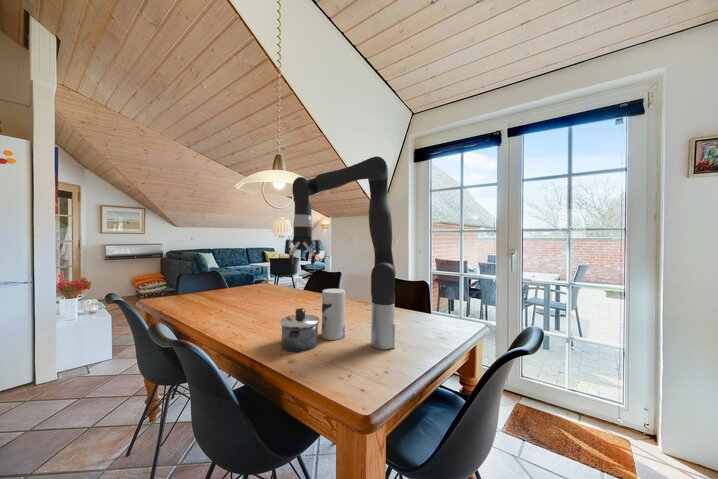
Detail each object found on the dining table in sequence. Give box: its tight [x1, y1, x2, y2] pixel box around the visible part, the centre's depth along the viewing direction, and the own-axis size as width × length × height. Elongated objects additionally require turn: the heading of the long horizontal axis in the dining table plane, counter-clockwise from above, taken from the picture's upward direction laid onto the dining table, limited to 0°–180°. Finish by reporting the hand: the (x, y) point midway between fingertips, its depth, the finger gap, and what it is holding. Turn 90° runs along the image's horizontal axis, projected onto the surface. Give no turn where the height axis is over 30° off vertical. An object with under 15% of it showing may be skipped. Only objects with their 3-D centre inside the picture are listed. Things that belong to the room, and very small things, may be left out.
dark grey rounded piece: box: [281, 323, 319, 353], centre depth 111 cm, size 21×14×9 cm, turn 178°
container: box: [321, 288, 346, 341], centre depth 122 cm, size 10×10×20 cm
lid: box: [280, 307, 320, 328], centre depth 111 cm, size 15×15×5 cm
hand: (302, 264), depth 118 cm, fingers open, 8 cm apart
